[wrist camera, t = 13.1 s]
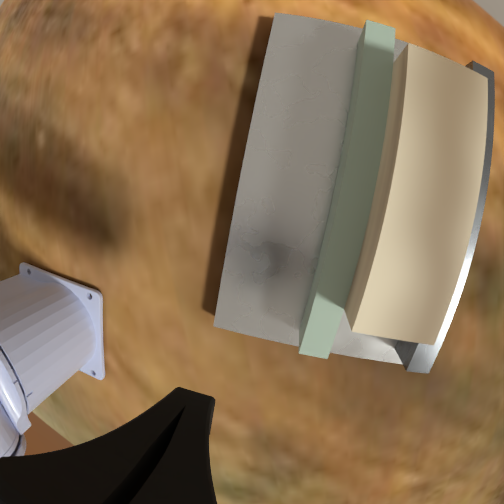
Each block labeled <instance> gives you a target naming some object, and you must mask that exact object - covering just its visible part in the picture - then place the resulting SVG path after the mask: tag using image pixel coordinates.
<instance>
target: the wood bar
mask: <svg viewBox="0 0 504 504" xmlns="http://www.w3.org/2000/svg"><path fill="white" fill-rule="evenodd" d="M487 112H488V78H486V77H484V76H483V75H481V74H479V73H477V72H475V71H473V70H471V69H469V68H467V67H465V66H463V65H461V64H459V63H456V62H454V61H452V60H450V59H448V58H445V57H443V56H441V55H438V54H436V53H434V52H431V51H429V50H426V49H424V48H421V47H418V46H416V45H413V44H410V43H408V44H407V45H406V47H405V48H404V49H403V51H402V52H401V53H400V55H399V56H398V57H397V59H396V60H395V61H394V63H393V71H392V81H391V91H390V99H389V107H388V115H387V122H386V129H385V136H384V142H383V148H382V154H381V160H380V165H379V171H378V176H377V181H376V186H375V191H374V196H373V201H372V205H371V210H370V214H369V219H368V223H367V227H366V231H365V236H364V240H363V244H362V248H361V251H360V255H359V259H358V263H357V267H356V270H355V274H354V277H353V281H352V284H351V288H350V291H349V295H348V298H347V301H346V305H345V308H344V311H345V313H346V316H347V319H348V322H349V325H350V328H351V331H352V332H357V333H362V334H367V335H373V336H379V337H384V338H390V339H396V340H402V341H409V342H415V343H422V344H428V345H434V344H435V342H436V339H437V337H438V334H439V332H440V330H441V327H442V325H443V322H444V319H445V317H446V314H447V311H448V309H449V306H450V303H451V300H452V297H453V294H454V292H455V288H456V285H457V282H458V279H459V276H460V273H461V269H462V266H463V262H464V259H465V255H466V252H467V248H468V244H469V240H470V236H471V232H472V227H473V223H474V218H475V213H476V208H477V203H478V197H479V192H480V185H481V179H482V172H483V164H484V155H485V145H486V132H487Z"/></svg>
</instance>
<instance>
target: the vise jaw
mask: <svg viewBox="0 0 504 504" xmlns="http://www.w3.org/2000/svg"><path fill="white" fill-rule="evenodd" d="M394 45H395V28H393V27H389V26H386V25H383V24H380V23H376V22H373V21H369V20H366V22H365V25H364V28H363V30H362V33H361V35H360V38H359V40H358V49H357V57H356V65H355V73H354V80H353V87H352V94H351V100H350V107H349V113H348V119H347V125H346V131H345V136H344V142H343V148H342V153H341V158H340V164H339V169H338V174H337V179H336V184H335V189H334V193H333V198H332V203H331V207H330V212H329V216H328V221H327V225H326V230H325V234H324V238H323V243H322V247H321V251H320V255H319V259H318V263H317V267H316V271H315V275H314V279H313V283H312V287H311V290H310V294H309V298H308V302H307V305H306V309H305V313H304V316H303V320H302V323H301V327H300V330H299V354H304V355H309V356H314V357H320V358H325V359H328V356H329V353H330V350H331V347H332V345H333V342H334V339H335V336H336V333H337V330H338V327H339V324H340V321H341V317H342V314H343V311H344V308H345V305H346V301H347V298H348V295H349V291H350V288H351V284H352V281H353V277H354V274H355V270H356V267H357V263H358V259H359V255H360V251H361V248H362V244H363V240H364V236H365V231H366V227H367V223H368V219H369V214H370V210H371V205H372V201H373V196H374V191H375V186H376V181H377V176H378V171H379V165H380V160H381V154H382V148H383V142H384V136H385V129H386V122H387V115H388V107H389V99H390V91H391V81H392V71H393V59H394Z"/></svg>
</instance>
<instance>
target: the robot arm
mask: <svg viewBox="0 0 504 504" xmlns="http://www.w3.org/2000/svg"><path fill="white" fill-rule="evenodd" d="M19 271H20V274H18V275H16V276H13V277H10V278H8V279H5V280H2V281H0V504H217V501H216V497H215V492H214V487H213V481H212V475H211V468H210V457H209V435H210V430H211V424H212V418H213V412H214V406H215V399H214V398H213V397H212V396H208V395H204V394H201V393H197V392H194V391H191V390H187V389H184V388H181V387H177V388H175V389H174V390H173V391H172V392H171V393H169V394H168V395H167V396H166V397H164V398H163V399H162V400H160V401H159V402H158V403H156V404H155V405H154V406H152V407H151V408H149V409H148V410H146V411H145V412H144V413H142V414H141V415H139V416H138V417H136V418H134V419H133V420H131V421H129V422H127V423H126V424H124V425H122V426H120V427H119V428H117V429H115V430H113V431H111V432H109V433H107V434H105V435H103V436H100V437H98V438H95V439H93V440H90V441H88V442H85V443H82V444H79V445H76V446H73V447H69V448H66V449H62V450H58V451H53V452H47V453H42V454H36V455H26V456H24V454H25V450H26V439H25V436H24V435H23V433H24V432H25V431H26V430H27V429H28V428H29V427H30V426H31V423H30V421H29V419H28V417H27V415H28V414H29V413H30V412H31V411H32V410H34V409H35V408H36V407H37V406H38V405H39V404H40V403H41V402H43V401H44V400H45V399H46V398H47V397H48V396H49V395H50V394H52V393H53V392H54V391H55V390H56V389H57V388H58V387H60V386H61V385H62V384H63V383H64V382H65V381H66V380H68V379H69V378H70V377H71V376H72V375H73V374H75V373H76V372H77V371H78V370H80V371H82V372H84V373H86V374H88V375H90V376H92V377H95V378H97V379H99V380H102V379H103V378H104V377H105V367H104V349H103V297H102V294H101V293H100V292H99V291H98V290H95V289H92V288H89V287H87V286H84V285H81V284H78V283H76V282H73V281H70V280H68V279H65V278H62V277H60V276H57V275H55V274H52V273H50V272H47V271H45V270H42V269H40V268H37V267H35V266H32V265H30V264H28V263H25V262H23V263H21V264H20V266H19ZM90 294H91V295H92V297H91V296H90Z"/></svg>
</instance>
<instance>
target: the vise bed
mask: <svg viewBox="0 0 504 504" xmlns="http://www.w3.org/2000/svg"><path fill="white" fill-rule="evenodd" d="M362 30H363V29H361V28H357V27H353V26H349V25H345V24H340V23H336V22H331V21H326V20H321V19H315V18H310V17H303V16H297V15H290V14H282V13H275V16H274V20H273V24H272V28H271V33H270V37H269V42H268V46H267V50H266V55H265V59H264V64H263V68H262V73H261V78H260V82H259V87H258V91H257V96H256V101H255V106H254V110H253V115H252V120H251V125H250V130H249V135H248V139H247V144H246V149H245V154H244V159H243V164H242V170H241V175H240V180H239V185H238V190H237V195H236V201H235V206H234V211H233V217H232V222H231V228H230V233H229V239H228V244H227V250H226V255H225V261H224V267H223V272H222V278H221V284H220V290H219V296H218V302H217V308H216V314H215V320H214V326H215V327H218V328H222V329H226V330H230V331H234V332H238V333H242V334H246V335H250V336H254V337H259V338H263V339H267V340H272V341H276V342H281V343H285V344H290V345H295V346H299V330H300V327H301V323H302V320H303V316H304V313H305V309H306V305H307V302H308V298H309V294H310V290H311V287H312V283H313V279H314V275H315V271H316V267H317V263H318V259H319V255H320V251H321V247H322V243H323V238H324V234H325V230H326V225H327V221H328V216H329V212H330V207H331V203H332V198H333V193H334V189H335V184H336V179H337V174H338V169H339V164H340V158H341V153H342V148H343V142H344V136H345V131H346V125H347V119H348V113H349V107H350V100H351V94H352V87H353V80H354V73H355V65H356V57H357V49H358V40H359V38H360V35H361V33H362ZM407 44H408V43H407V42H404V41H401V40H398V39H395V45H394V59H393V63H394V61H395V60H396V59H397V57H398V56H399V55H400V53H401V52H402V51H403V49H404V48H405V47H406V45H407ZM465 67H467V68H469V69H471V70H473V71H475V72H477V73H479V74H481V75H483V76H484V77H486V78H488V112H487V132H486V145H485V155H484V164H483V172H482V179H481V185H480V192H479V197H478V203H477V208H476V213H475V218H474V223H473V227H472V232H471V236H470V240H469V244H468V248H467V252H466V255H465V259H464V262H463V266H462V269H461V273H460V276H459V279H458V282H457V285H456V288H455V292H454V294H453V297H452V300H451V303H450V306H449V309H448V311H447V314H446V317H445V319H444V322H443V325H442V327H441V330H440V332H439V334H438V337H437V339H436V342H435V344H434V345H428V344H422V343H415V342H409V341H402V340H396V339H390V338H384V337H379V336H373V335H367V334H362V333H357V332H352V331H351V328H350V325H349V322H348V319H347V316H346V313H345V311H343V314H342V317H341V321H340V324H339V327H338V330H337V333H336V336H335V339H334V342H333V345H332V347H331V350H330V353H335V354H341V355H347V356H352V357H358V358H364V359H371V360H377V361H384V362H391V363H398V364H403V366H404V367H405V369H406V371H410V372H419V373H429V371H430V369H431V367H432V365H433V363H434V361H435V358H436V356H437V354H438V352H439V350H440V347H441V345H442V343H443V340H444V338H445V336H446V333H447V331H448V328H449V326H450V323H451V321H452V318H453V316H454V313H455V310H456V307H457V305H458V302H459V299H460V296H461V293H462V290H463V287H464V284H465V281H466V278H467V275H468V271H469V268H470V264H471V261H472V257H473V254H474V250H475V246H476V242H477V238H478V234H479V229H480V225H481V220H482V215H483V210H484V205H485V200H486V194H487V188H488V181H489V174H490V166H491V157H492V146H493V133H494V107H495V90H494V72H493V71H491V70H489V69H488V68H486V67H484V66H482V65H480V64H478V63H476V62H474V61H472V62H470V63H469V64H467V65H466V66H465Z"/></svg>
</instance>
